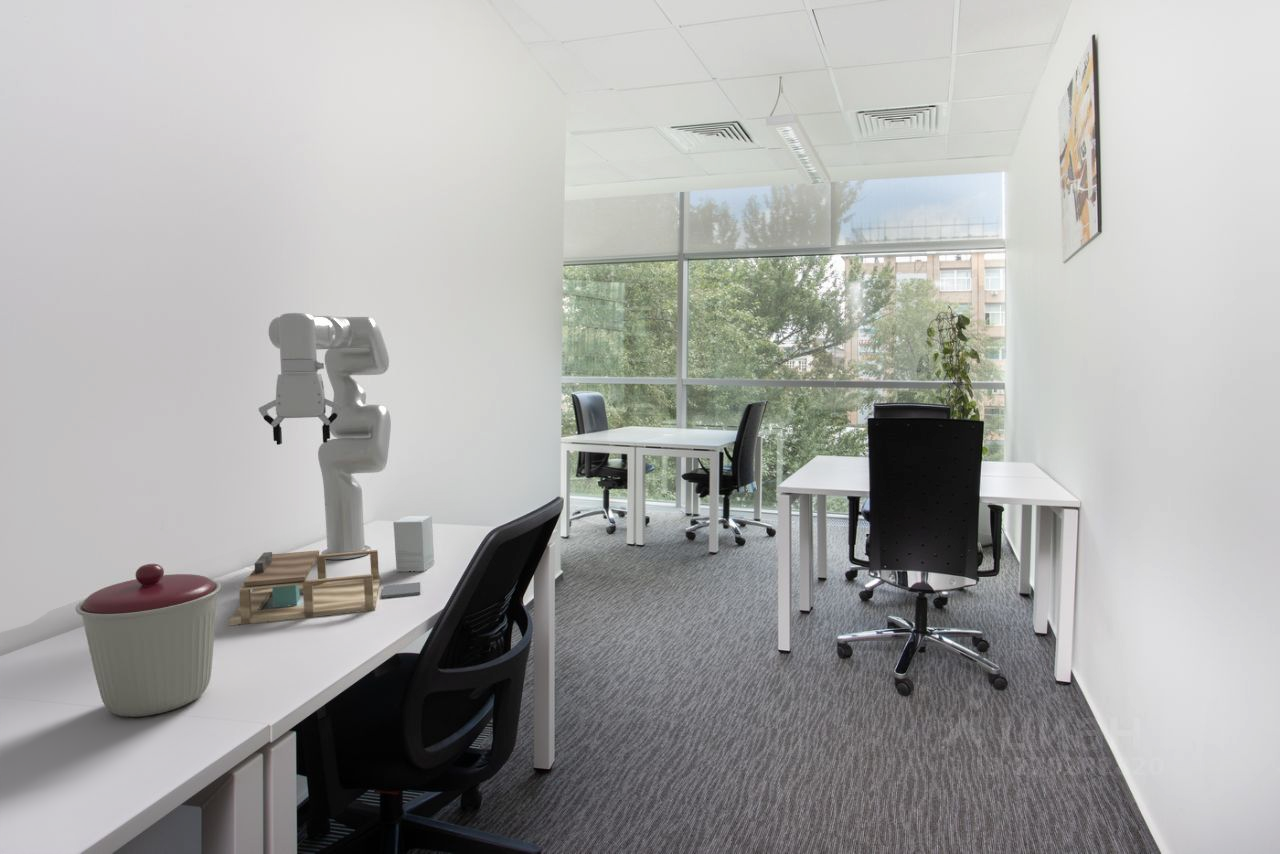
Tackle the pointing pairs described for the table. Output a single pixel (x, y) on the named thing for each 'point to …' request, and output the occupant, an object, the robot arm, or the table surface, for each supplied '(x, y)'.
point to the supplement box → (413, 543)
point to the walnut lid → (282, 568)
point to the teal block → (285, 595)
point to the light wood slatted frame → (314, 595)
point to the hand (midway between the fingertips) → (302, 443)
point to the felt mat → (401, 590)
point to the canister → (151, 640)
